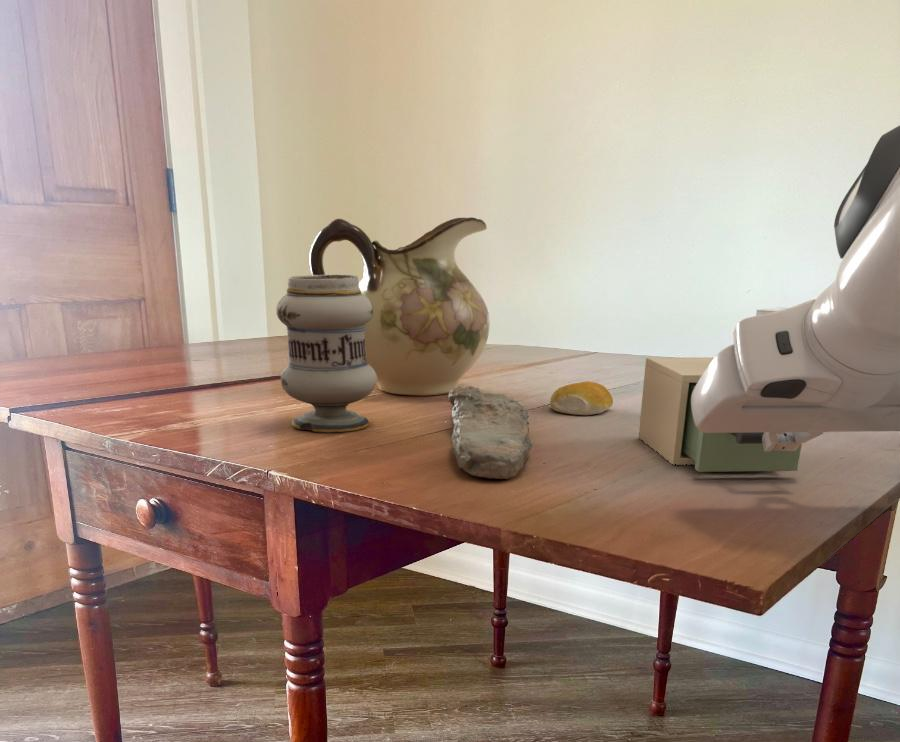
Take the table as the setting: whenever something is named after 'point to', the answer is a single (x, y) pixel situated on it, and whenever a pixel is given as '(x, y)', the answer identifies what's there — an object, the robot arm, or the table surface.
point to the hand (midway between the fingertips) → (777, 445)
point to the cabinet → (668, 403)
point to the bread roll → (581, 399)
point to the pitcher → (416, 307)
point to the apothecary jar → (327, 350)
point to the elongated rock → (488, 433)
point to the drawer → (731, 449)
